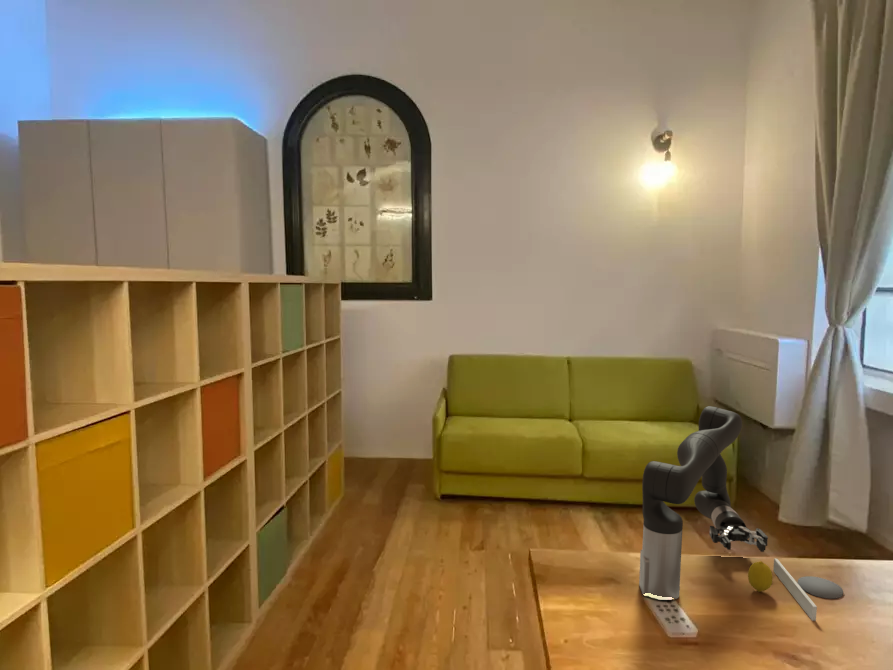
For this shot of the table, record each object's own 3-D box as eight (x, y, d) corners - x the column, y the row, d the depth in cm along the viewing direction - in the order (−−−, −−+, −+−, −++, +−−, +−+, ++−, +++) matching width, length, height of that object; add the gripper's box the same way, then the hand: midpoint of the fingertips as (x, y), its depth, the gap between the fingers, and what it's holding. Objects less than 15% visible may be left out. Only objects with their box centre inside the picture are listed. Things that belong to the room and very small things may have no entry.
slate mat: (807, 597, 155) (807, 594, 155) (791, 577, 165) (791, 575, 165) (850, 600, 154) (850, 597, 154) (831, 579, 164) (831, 577, 164)
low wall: (812, 620, 145) (813, 606, 145) (773, 570, 169) (774, 558, 168) (815, 620, 145) (816, 606, 144) (776, 571, 168) (777, 558, 168)
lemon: (774, 598, 155) (776, 567, 154) (750, 596, 156) (752, 565, 155) (767, 587, 160) (769, 557, 159) (744, 585, 161) (746, 555, 160)
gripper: (703, 509, 185) (719, 532, 169) (754, 511, 183) (775, 535, 167) (702, 533, 185) (717, 559, 170) (752, 536, 183) (773, 562, 168)
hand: (746, 547), depth 168 cm, fingers open, 8 cm apart
